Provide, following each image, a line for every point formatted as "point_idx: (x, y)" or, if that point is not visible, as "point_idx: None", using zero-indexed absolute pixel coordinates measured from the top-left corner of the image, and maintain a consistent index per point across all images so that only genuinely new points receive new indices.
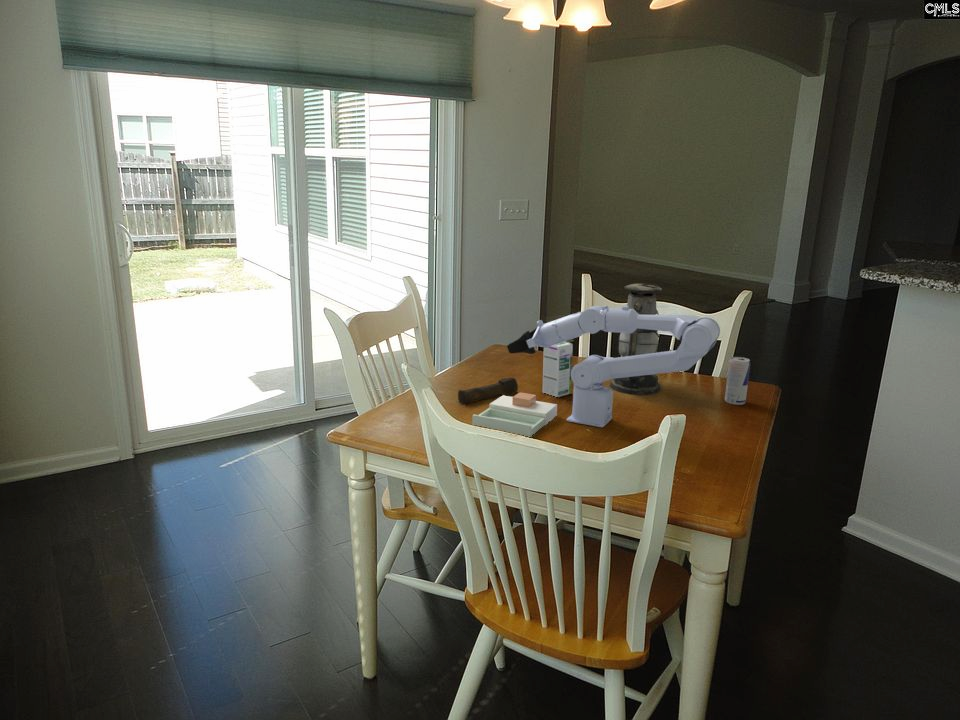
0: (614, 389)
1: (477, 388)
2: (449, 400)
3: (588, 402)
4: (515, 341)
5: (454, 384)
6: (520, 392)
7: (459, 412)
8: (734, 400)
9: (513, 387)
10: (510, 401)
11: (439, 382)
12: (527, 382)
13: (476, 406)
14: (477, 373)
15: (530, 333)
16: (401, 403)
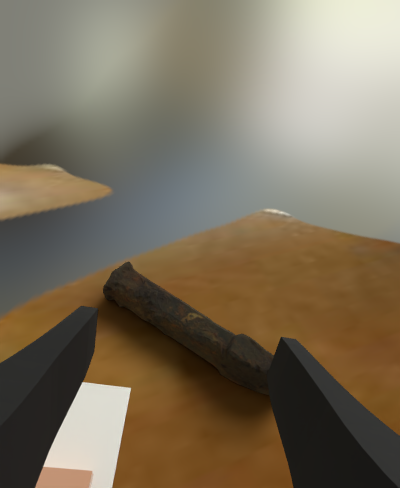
0: None
1: (155, 298)
2: (130, 260)
3: None
4: (16, 355)
5: (239, 246)
6: (89, 475)
7: (41, 302)
8: None
9: (260, 386)
10: (61, 443)
11: (234, 221)
12: (367, 399)
13: (104, 328)
14: (331, 267)
15: (325, 407)
16: (82, 193)
